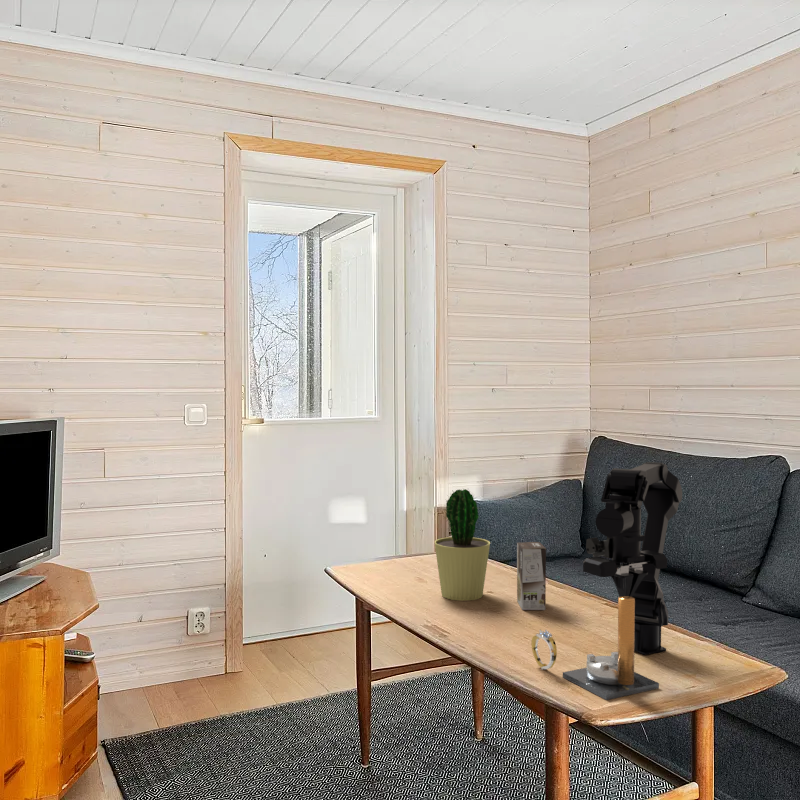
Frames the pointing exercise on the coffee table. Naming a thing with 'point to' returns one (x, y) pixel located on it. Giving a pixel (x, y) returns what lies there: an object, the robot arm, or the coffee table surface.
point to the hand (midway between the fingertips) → (624, 604)
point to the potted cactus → (462, 551)
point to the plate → (607, 689)
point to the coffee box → (531, 575)
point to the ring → (552, 647)
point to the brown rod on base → (621, 662)
